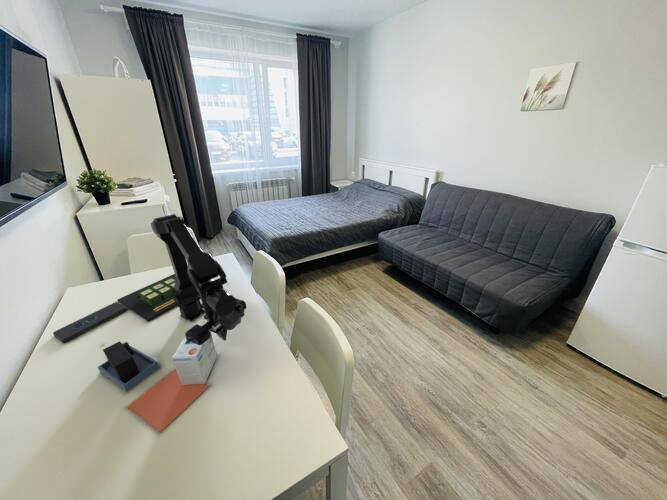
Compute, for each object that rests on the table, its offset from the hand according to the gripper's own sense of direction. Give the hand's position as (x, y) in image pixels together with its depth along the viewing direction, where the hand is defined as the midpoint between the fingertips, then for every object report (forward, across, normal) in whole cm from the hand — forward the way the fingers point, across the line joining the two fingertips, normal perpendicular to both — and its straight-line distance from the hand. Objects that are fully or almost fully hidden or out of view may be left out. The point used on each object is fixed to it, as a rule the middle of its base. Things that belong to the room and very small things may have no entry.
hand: (224, 340), depth 86 cm
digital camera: (+3, -19, +20) cm, 28 cm away
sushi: (+3, +11, +48) cm, 50 cm away
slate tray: (+3, -19, +20) cm, 27 cm away
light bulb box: (+4, -10, 0) cm, 10 cm away
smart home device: (+2, -12, +56) cm, 57 cm away
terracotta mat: (+3, -19, +1) cm, 19 cm away
